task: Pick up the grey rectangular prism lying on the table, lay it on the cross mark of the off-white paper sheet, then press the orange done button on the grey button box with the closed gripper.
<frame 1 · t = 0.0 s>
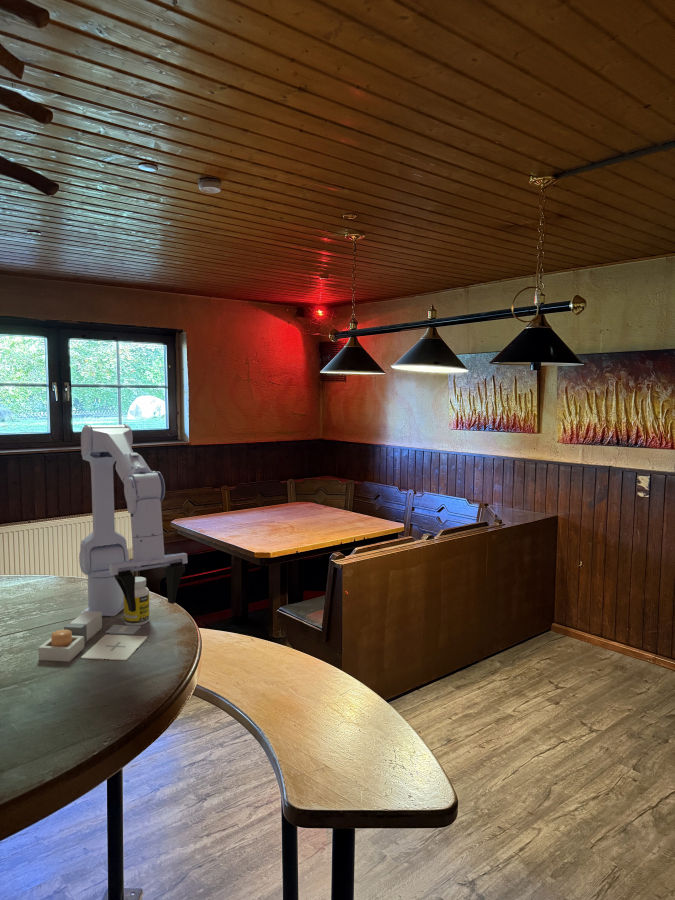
hand: (152, 606, 115), 11 cm above the table, tool pointing down, fingers open, 7 cm apart
paper sheet: (115, 647, 121), on the table
button box: (62, 653, 118), on the table
supplement bottle: (136, 622, 135), on the table
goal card: (123, 630, 130), on the table
grey rectangular prism: (83, 635, 127), on the table
done button: (61, 640, 118), point 3 cm above the table, slide at 0.0 cm
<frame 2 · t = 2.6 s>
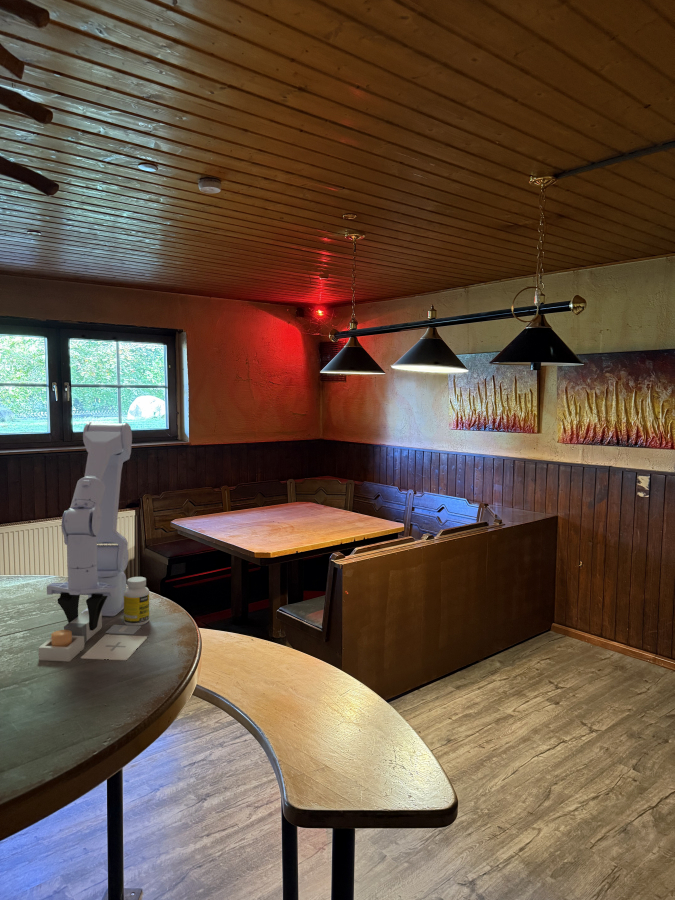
hand: (83, 628, 127), 2 cm above the table, tool pointing down, fingers closed on grey rectangular prism, 4 cm apart
grey rectangular prism: (83, 635, 127), on the table, touching gripper
everything else where it was.
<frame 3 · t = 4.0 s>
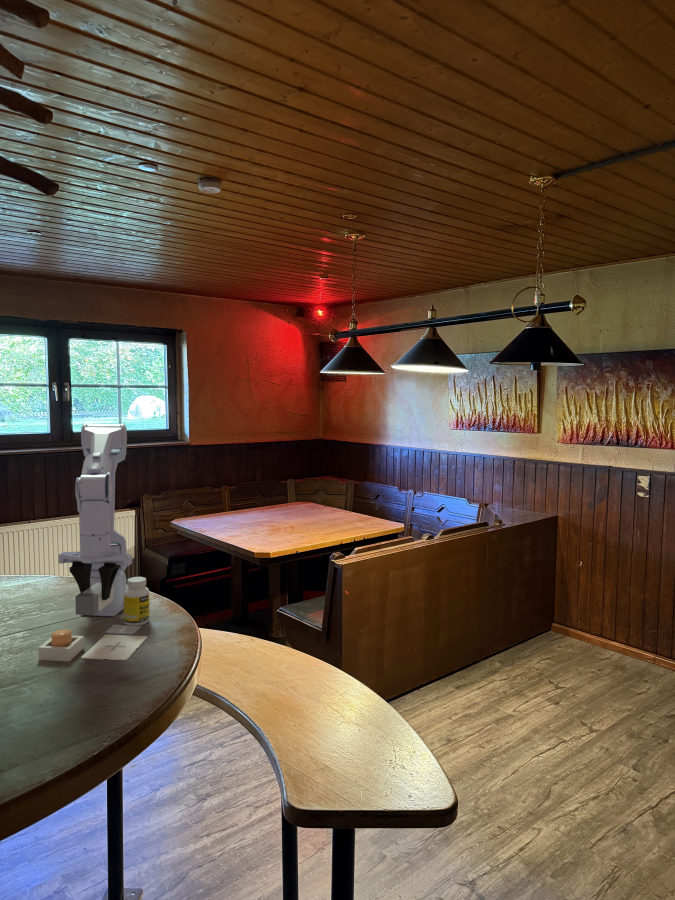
hand: (96, 598, 124), 9 cm above the table, tool pointing down, fingers closed on grey rectangular prism, 4 cm apart
grey rectangular prism: (95, 606, 124), point 7 cm above the table, touching gripper
everything else where it was.
when the fingers open (3 cm above the table, at t = 5.8 s): grey rectangular prism stays where it is, resting on paper sheet.
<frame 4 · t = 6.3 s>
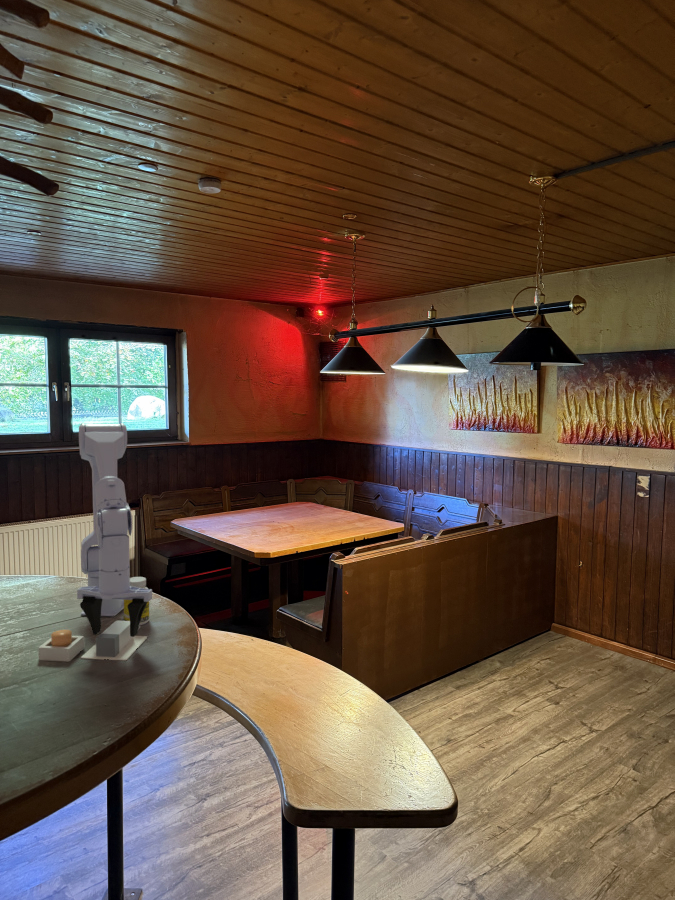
hand: (115, 633, 121), 3 cm above the table, tool pointing down, fingers open, 7 cm apart
grey rectangular prism: (115, 646, 121), resting on paper sheet
everything else where it was.
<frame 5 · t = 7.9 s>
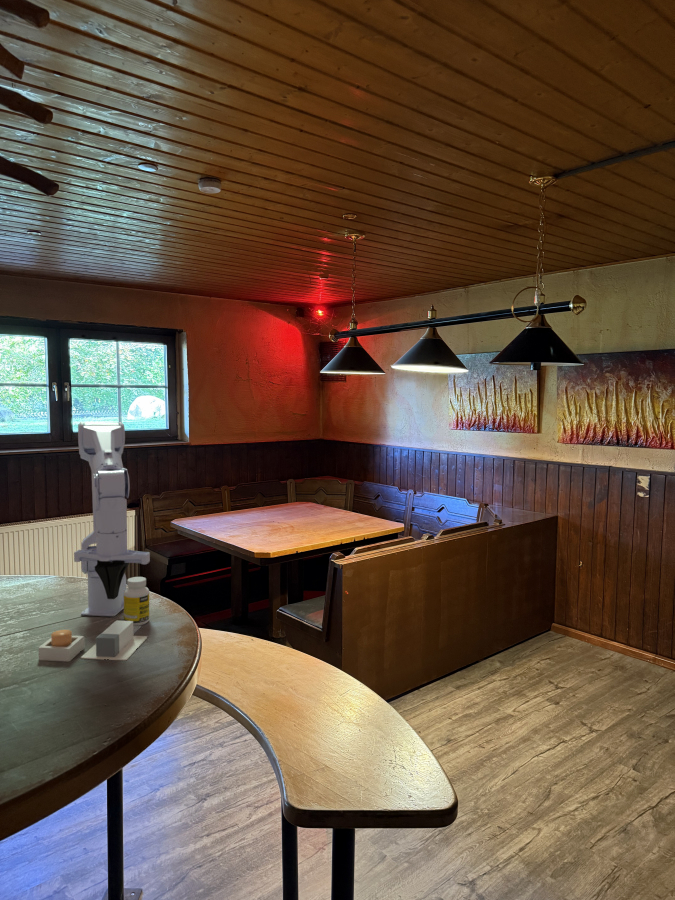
hand: (112, 597, 120), 10 cm above the table, tool pointing down, fingers closed
nothing on the table moved.
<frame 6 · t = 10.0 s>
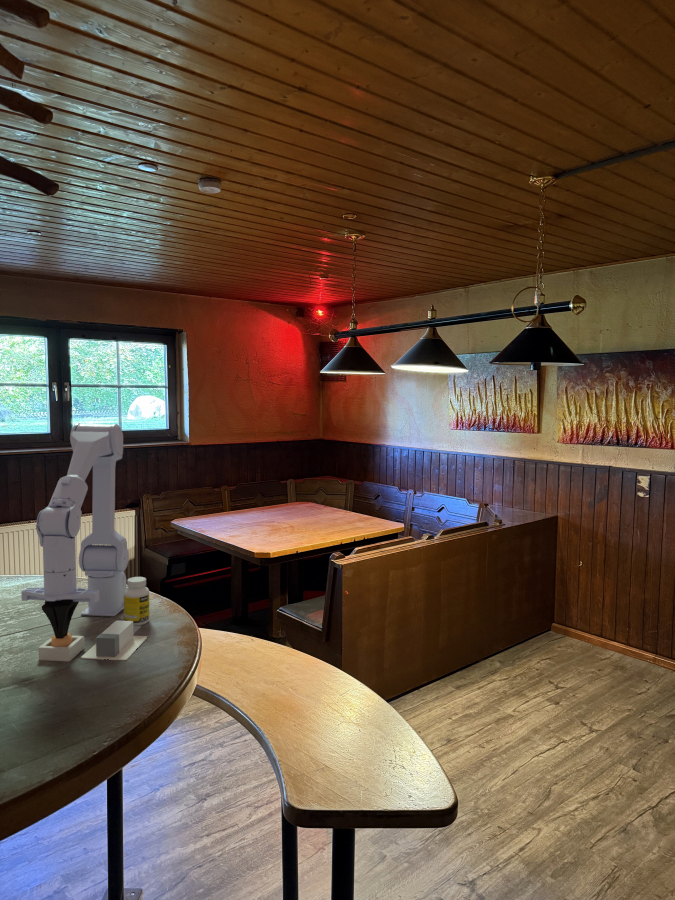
hand: (61, 636, 118), 4 cm above the table, tool pointing down, fingers closed, pressing on done button
done button: (61, 643, 118), point 2 cm above the table, slide at 0.6 cm, touching gripper
everything else where it was.
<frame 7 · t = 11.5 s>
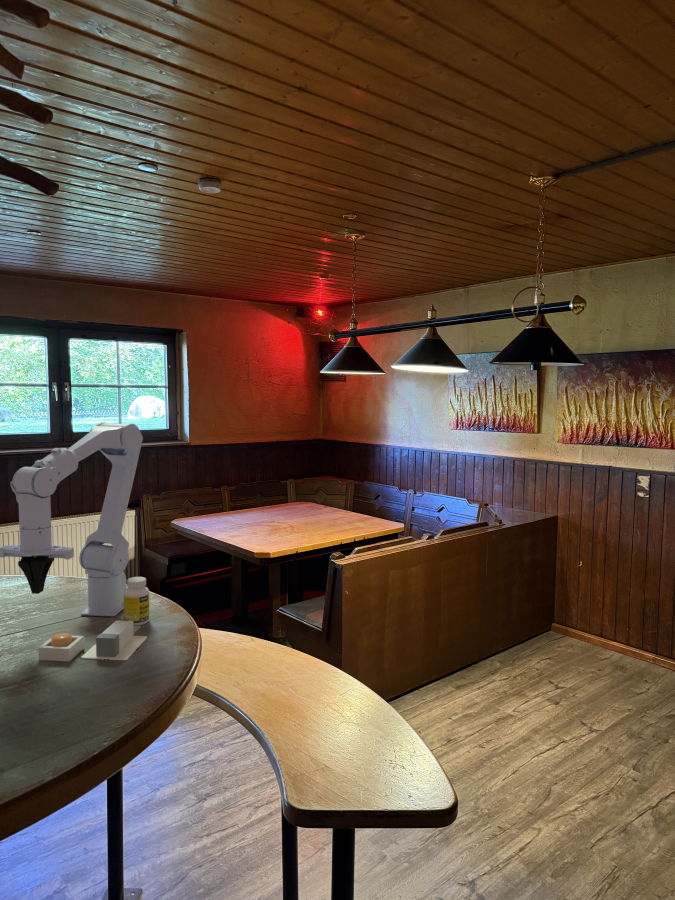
hand: (37, 592, 123), 10 cm above the table, tool pointing down, fingers closed
done button: (61, 644, 118), point 2 cm above the table, slide at 0.7 cm
everything else where it was.
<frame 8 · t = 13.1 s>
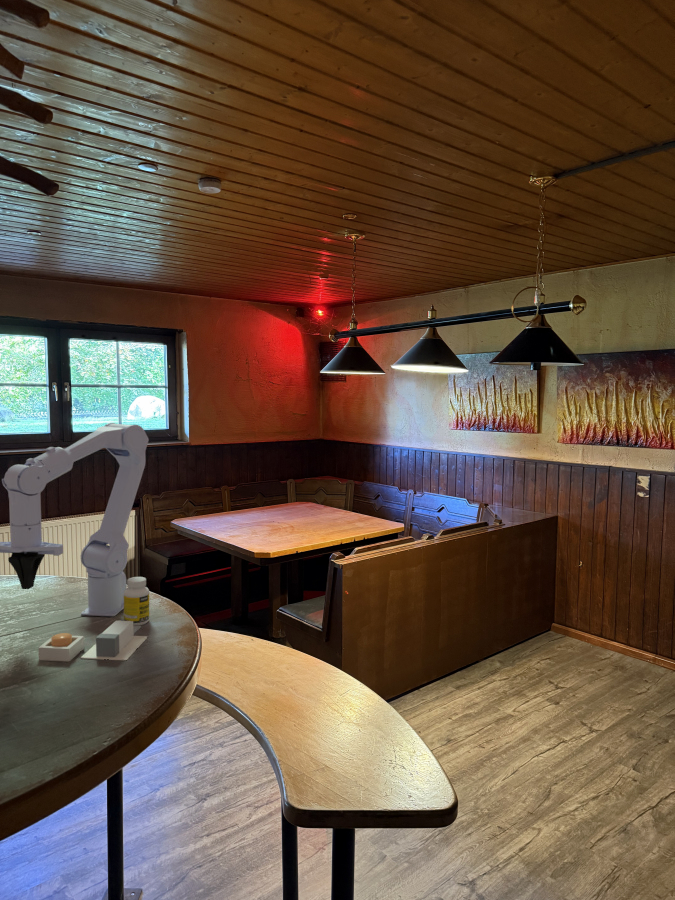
hand: (27, 587, 125), 10 cm above the table, tool pointing down, fingers closed
nothing on the table moved.
at the end: grey rectangular prism inside the target area on the paper sheet (0.1 cm from its centre), point 0.2 cm above the paper sheet's base; the gripper is holding nothing; done button slide at 0.7 cm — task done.
